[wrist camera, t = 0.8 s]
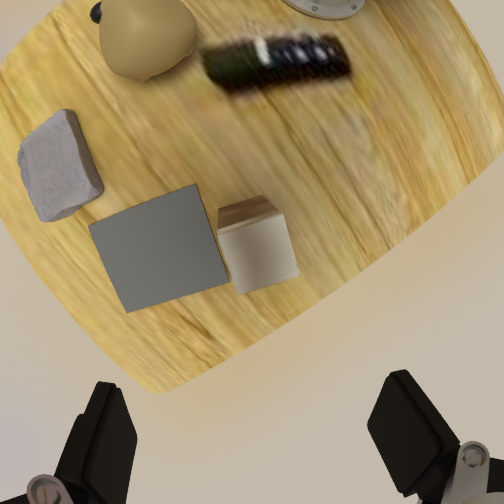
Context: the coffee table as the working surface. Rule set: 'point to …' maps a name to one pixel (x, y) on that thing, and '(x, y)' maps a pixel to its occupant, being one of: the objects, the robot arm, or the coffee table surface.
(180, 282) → the rubber mat
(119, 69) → the tan rounded figure
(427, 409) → the robot arm
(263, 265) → the walnut block
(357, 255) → the coffee table surface
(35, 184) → the stone block
